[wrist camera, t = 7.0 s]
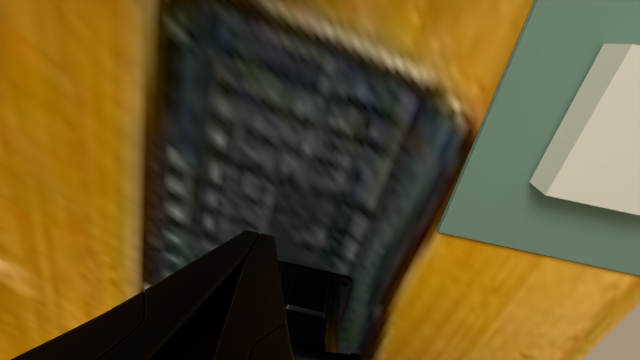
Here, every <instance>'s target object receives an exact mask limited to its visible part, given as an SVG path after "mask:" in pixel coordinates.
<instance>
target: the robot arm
mask: <svg viewBox="0 0 640 360" xmlns="http://www.w3.org/2000/svg"><path fill="white" fill-rule="evenodd" d="M344 282H347V283H344ZM351 286H352V279H351V278H350V277H349V276H346V275H341V274H337V273H332V272H328V271H323V270H319V269H314V268H309V267H305V266H300V265H296V264H291V263H287V262H282V261H278V258H277V251H276V244H275V238H274V236H271V235H266V234H259V233H257V232H253V231H248V230H247V231H244V232H242V233H241V234H239V235H237V236H236V237H234V238H232V239H230V240H229V241H227V242H225V243H224V244H222V245H220V246H219V247H217V248H215V249H213V250H212V251H210V252H208V253H207V254H205V255H203V256H202V257H200V258H198V259H196V260H195V261H193V262H191V263H190V264H188V265H186V266H185V267H183V268H181V269H180V270H178V271H176V272H174V273H173V274H171V275H169V276H168V277H166V278H164V279H163V280H161V281H159V282H157V283H156V284H154V285H152V286H151V287H149V288H147V289H146V290H145V291H144V292H140V293H139V294H137V295H135V296H133V297H132V298H130V299H128V300H127V301H125V302H123V303H121V304H119V305H118V306H116V307H114V308H112V309H111V310H109V311H107V312H105V313H103V314H101V315H100V316H98V317H96V318H94V319H92V320H90V321H88V322H86V323H84V324H82V325H80V326H78V327H76V328H74V329H72V330H70V331H68V332H66V333H64V334H62V335H60V336H58V337H56V338H54V339H52V340H50V341H48V342H46V343H43V344H41V345H39V346H37V347H35V348H33V349H31V350H29V351H27V352H25V353H23V354H21V355H19V356H17V357H15V358H13V359H11V360H360V357H359V354H356V353H351V354H343V353H337V347H338V330H339V325H340V321H341V318H342V315H343V312H344V308H345V305H346V302H347V299H348V295H349V292H350V289H351Z"/></svg>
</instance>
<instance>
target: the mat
mask: <svg viewBox="0 0 640 360" xmlns="http://www.w3.org/2000/svg"><path fill="white" fill-rule="evenodd" d="M603 44H635V45H640V0H534V2H533V5H532V7H531V9H530V12H529V14H528V16H527V19H526V21H525V23H524V26H523V28H522V30H521V33H520V35H519V37H518V40H517V42H516V45H515V47H514V49H513V52H512V54H511V56H510V59H509V61H508V63H507V66H506V68H505V70H504V73H503V75H502V77H501V80H500V82H499V84H498V87H497V89H496V92H495V94H494V96H493V99H492V101H491V103H490V106H489V108H488V110H487V113H486V115H485V117H484V120H483V122H482V124H481V127H480V129H479V132H478V134H477V136H476V139H475V141H474V143H473V146H472V148H471V150H470V153H469V155H468V157H467V160H466V162H465V164H464V167H463V169H462V172H461V174H460V176H459V179H458V181H457V183H456V186H455V188H454V190H453V193H452V195H451V197H450V200H449V202H448V204H447V207H446V209H445V211H444V214H443V216H442V219H441V221H440V223H439V226H438V228H437V230H438V232H440V233H445V234H450V235H454V236H459V237H463V238H468V239H473V240H477V241H482V242H486V243H491V244H496V245H500V246H505V247H510V248H514V249H519V250H523V251H528V252H533V253H537V254H542V255H546V256H551V257H556V258H560V259H565V260H570V261H574V262H579V263H583V264H588V265H593V266H597V267H602V268H606V269H611V270H616V271H620V272H625V273H630V274H634V275H639V276H640V215H635V214H631V213H626V212H621V211H616V210H612V209H607V208H602V207H598V206H593V205H588V204H584V203H579V202H574V201H570V200H565V199H560V198H556V197H551V196H546V195H544V194H543V193H542V192H541V191H540V190H538V189H537V188H536V187H535V186H533V185H532V184H531V183H530V182H529V181H530V180H531V178H532V176H533V174H534V172H535V170H536V168H537V167H538V165H539V163H540V161H541V159H542V157H543V155H544V154H545V152H546V150H547V148H548V146H549V144H550V142H551V141H552V139H553V137H554V135H555V133H556V131H557V129H558V128H559V126H560V124H561V122H562V120H563V118H564V116H565V115H566V113H567V111H568V109H569V107H570V105H571V104H572V102H573V100H574V98H575V96H576V94H577V92H578V91H579V89H580V87H581V85H582V83H583V81H584V79H585V78H586V76H587V74H588V72H589V70H590V68H591V66H592V65H593V63H594V61H595V59H596V57H597V55H598V53H599V52H600V50H601V48H602V46H603Z"/></svg>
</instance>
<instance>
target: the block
mask: <svg viewBox="0 0 640 360" xmlns="http://www.w3.org/2000/svg"><path fill="white" fill-rule="evenodd" d="M529 182H530V183H531V184H532V185H533V186H535V187H536V188H537V189H538V190H540V191H541V192H542V193H543V194H544V195H546V196H551V197H556V198H560V199H565V200H570V201H574V202H579V203H584V204H588V205H593V206H598V207H602V208H607V209H612V210H616V211H621V212H626V213H631V214H635V215H640V45H635V44H603V46H602V48H601V50H600V52H599V53H598V55H597V57H596V59H595V61H594V63H593V65H592V66H591V68H590V70H589V72H588V74H587V76H586V78H585V79H584V81H583V83H582V85H581V87H580V89H579V91H578V92H577V94H576V96H575V98H574V100H573V102H572V104H571V105H570V107H569V109H568V111H567V113H566V115H565V116H564V118H563V120H562V122H561V124H560V126H559V128H558V129H557V131H556V133H555V135H554V137H553V139H552V141H551V142H550V144H549V146H548V148H547V150H546V152H545V154H544V155H543V157H542V159H541V161H540V163H539V165H538V167H537V168H536V170H535V172H534V174H533V176H532V178H531V180H530V181H529Z"/></svg>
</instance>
